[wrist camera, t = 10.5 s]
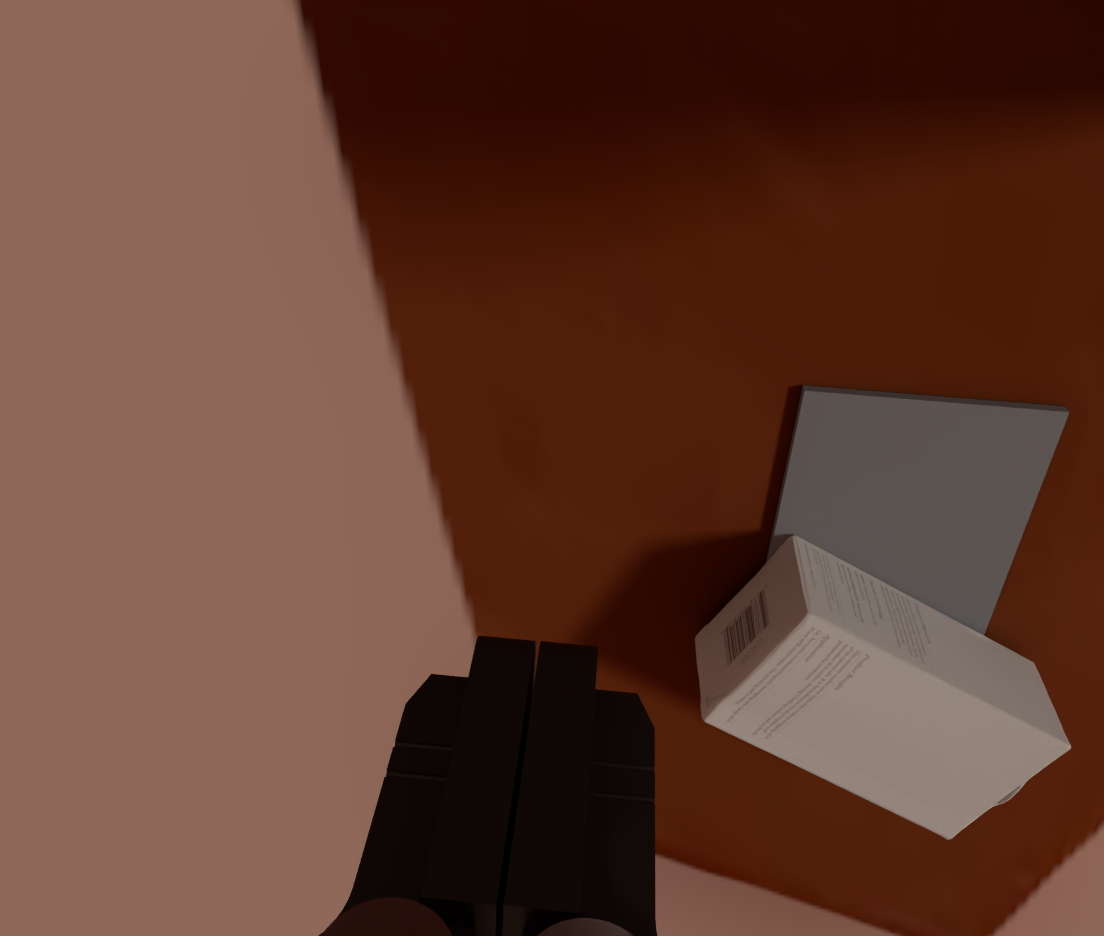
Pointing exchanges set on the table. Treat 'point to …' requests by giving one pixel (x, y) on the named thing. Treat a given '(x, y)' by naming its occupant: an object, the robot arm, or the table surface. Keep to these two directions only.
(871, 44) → the table surface
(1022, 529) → the flat gray panel
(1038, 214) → the table surface
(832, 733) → the skincare box
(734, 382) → the table surface
